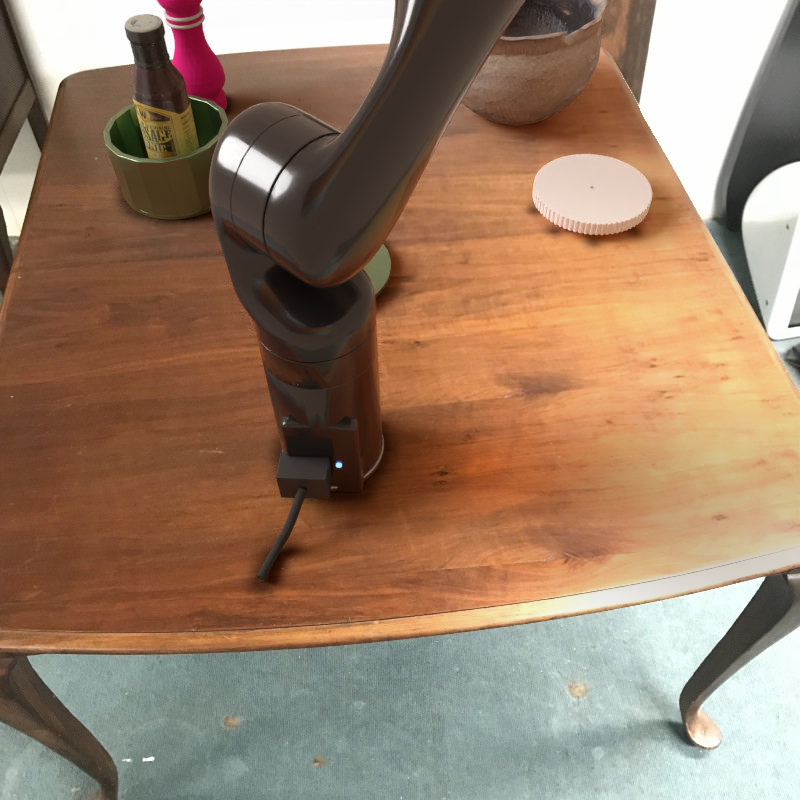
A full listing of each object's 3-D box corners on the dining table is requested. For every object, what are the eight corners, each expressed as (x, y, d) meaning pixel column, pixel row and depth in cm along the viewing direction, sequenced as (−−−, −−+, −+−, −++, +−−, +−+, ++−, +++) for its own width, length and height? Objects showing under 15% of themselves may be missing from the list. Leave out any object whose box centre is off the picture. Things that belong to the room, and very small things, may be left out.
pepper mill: (176, 98, 111) (137, -53, 95) (226, 90, 112) (196, -60, 97) (182, 125, 107) (143, -29, 91) (234, 116, 108) (205, -37, 92)
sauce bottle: (145, 183, 97) (95, 24, 82) (181, 159, 101) (139, 2, 85) (183, 201, 95) (138, 41, 79) (218, 175, 98) (182, 17, 83)
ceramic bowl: (547, 169, 99) (565, 55, 87) (402, 122, 106) (401, 11, 95) (612, 90, 111) (636, -20, 99) (478, 52, 118) (485, -54, 107)
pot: (226, 221, 93) (213, 163, 87) (109, 218, 94) (87, 160, 88) (248, 152, 102) (237, 95, 96) (141, 150, 103) (123, 93, 97)
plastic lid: (636, 170, 99) (640, 153, 97) (657, 241, 90) (663, 224, 88) (526, 171, 99) (528, 153, 97) (537, 242, 90) (539, 224, 88)
